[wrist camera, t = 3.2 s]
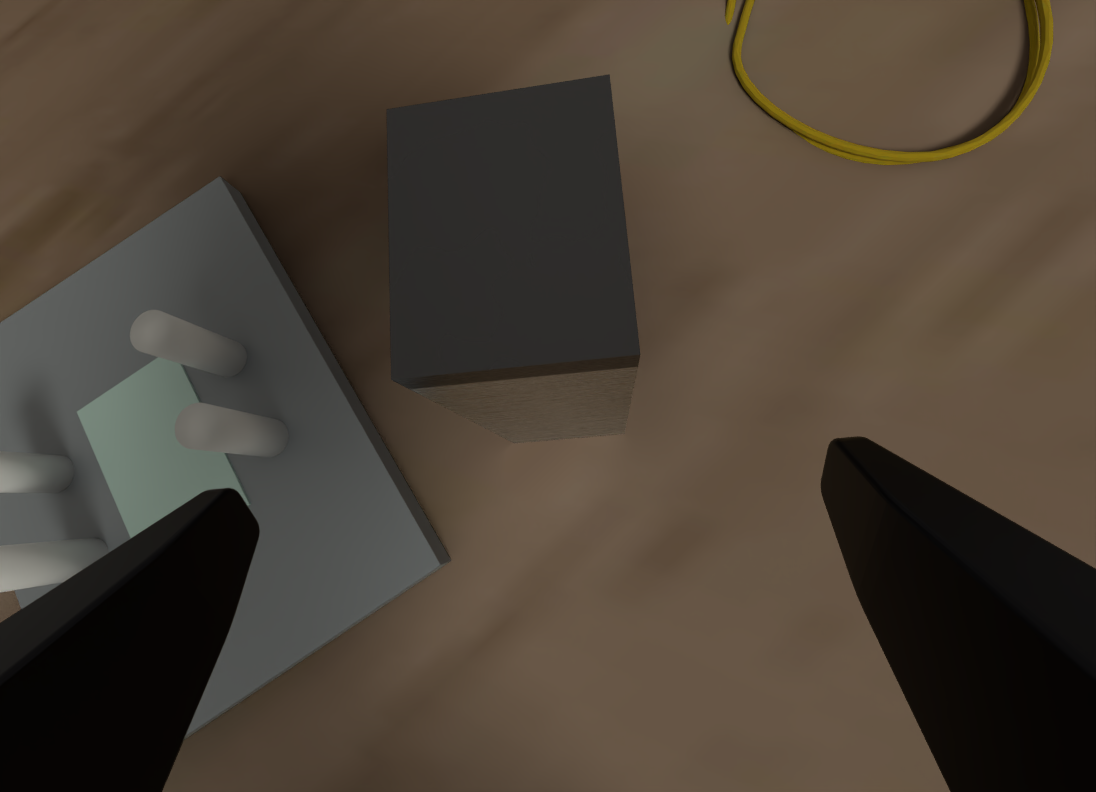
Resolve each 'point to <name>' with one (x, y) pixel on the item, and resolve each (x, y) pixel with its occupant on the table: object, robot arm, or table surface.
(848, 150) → the extension cord
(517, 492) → the table surface
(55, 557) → the dock
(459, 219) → the block
